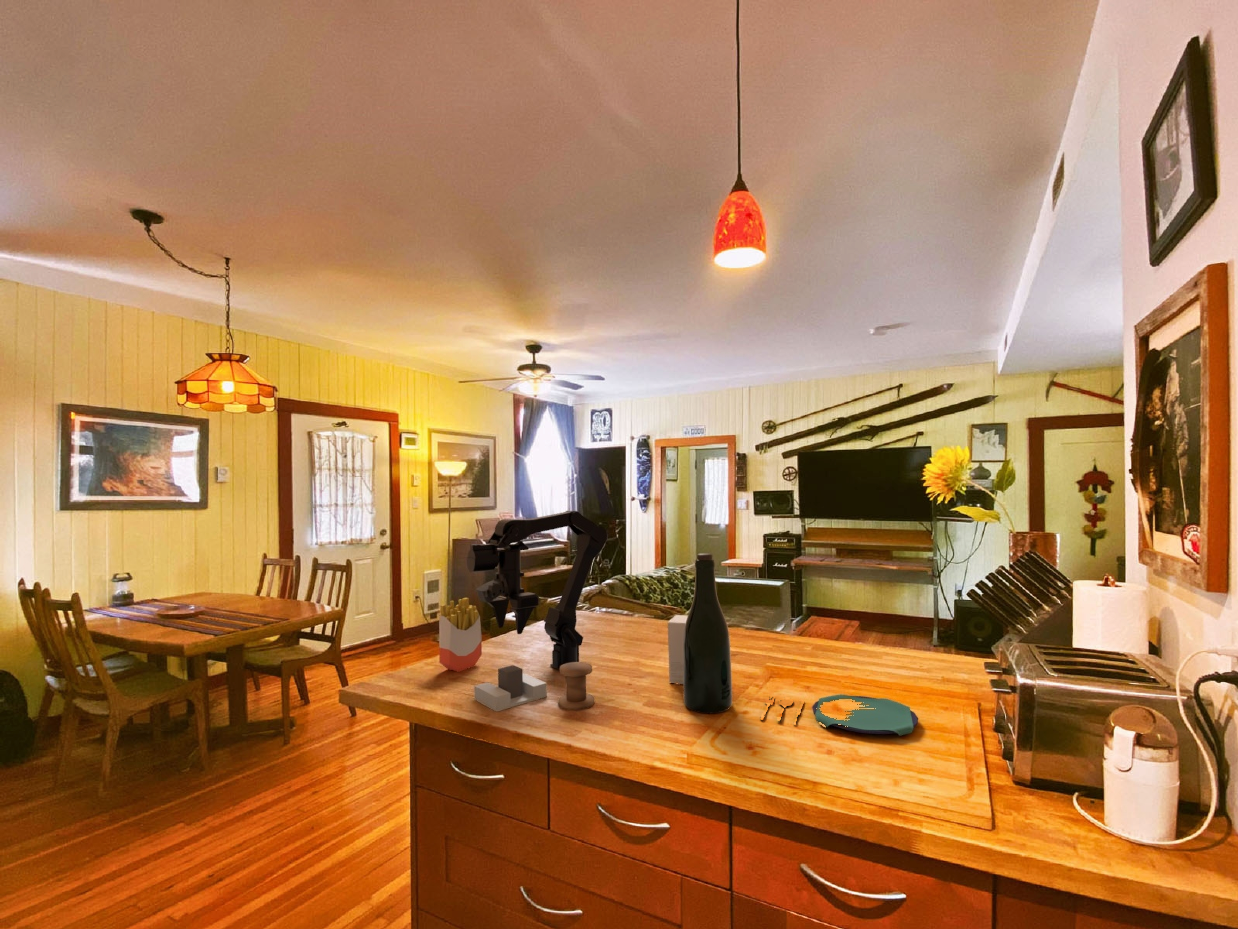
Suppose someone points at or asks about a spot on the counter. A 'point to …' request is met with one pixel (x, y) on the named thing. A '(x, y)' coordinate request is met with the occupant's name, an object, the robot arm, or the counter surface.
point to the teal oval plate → (871, 716)
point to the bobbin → (576, 686)
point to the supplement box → (676, 648)
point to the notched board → (502, 699)
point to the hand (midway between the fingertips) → (509, 630)
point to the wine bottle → (706, 646)
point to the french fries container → (459, 636)
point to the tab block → (511, 680)
